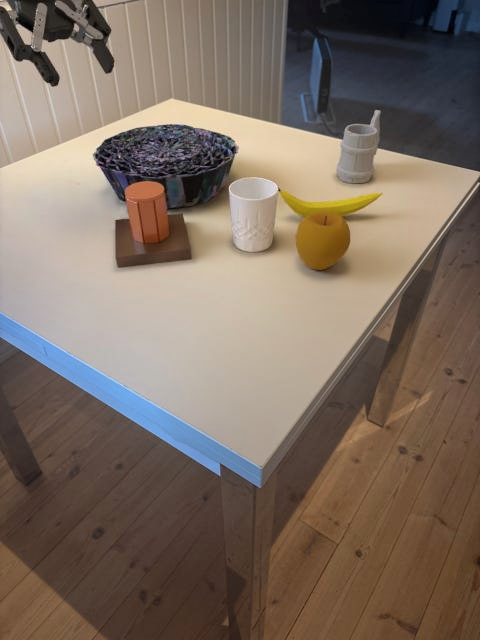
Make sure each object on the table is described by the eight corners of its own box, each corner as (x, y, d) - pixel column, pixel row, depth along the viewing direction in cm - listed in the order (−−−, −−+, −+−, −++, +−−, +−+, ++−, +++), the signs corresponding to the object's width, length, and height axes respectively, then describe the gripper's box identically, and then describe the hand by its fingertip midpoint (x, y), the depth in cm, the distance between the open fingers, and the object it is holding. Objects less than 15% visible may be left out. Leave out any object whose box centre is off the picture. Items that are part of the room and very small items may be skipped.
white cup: (280, 233, 86) (282, 180, 79) (270, 257, 80) (272, 202, 74) (237, 227, 88) (236, 174, 81) (224, 250, 82) (222, 196, 75)
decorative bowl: (144, 161, 114) (135, 118, 107) (256, 169, 105) (254, 121, 99) (83, 213, 95) (67, 164, 89) (212, 227, 87) (205, 174, 81)
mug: (328, 177, 103) (335, 119, 95) (357, 159, 109) (366, 103, 101) (360, 187, 99) (370, 128, 91) (388, 168, 106) (399, 111, 98)
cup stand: (117, 267, 79) (108, 223, 73) (117, 229, 87) (108, 188, 82) (191, 258, 80) (187, 215, 75) (183, 222, 89) (179, 181, 84)
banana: (379, 221, 89) (386, 189, 85) (275, 223, 89) (277, 191, 84) (375, 213, 91) (382, 181, 87) (274, 215, 91) (275, 184, 86)
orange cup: (133, 245, 80) (125, 200, 74) (131, 226, 84) (124, 182, 79) (170, 241, 81) (165, 196, 75) (167, 222, 85) (162, 179, 80)
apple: (334, 287, 74) (342, 237, 68) (284, 271, 77) (287, 222, 72) (353, 259, 80) (361, 210, 74) (305, 245, 83) (310, 198, 77)
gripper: (-34, -54, 58) (41, 69, 60) (71, -61, 66) (135, 48, 67) (-36, -5, 64) (32, 104, 66) (60, -17, 72) (119, 82, 74)
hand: (84, 76), depth 67 cm, fingers open, 8 cm apart
